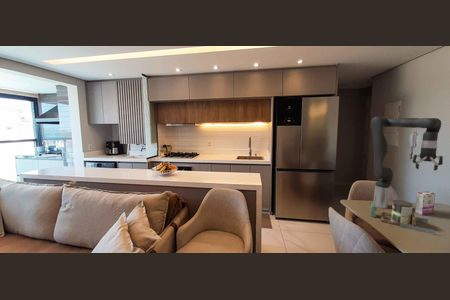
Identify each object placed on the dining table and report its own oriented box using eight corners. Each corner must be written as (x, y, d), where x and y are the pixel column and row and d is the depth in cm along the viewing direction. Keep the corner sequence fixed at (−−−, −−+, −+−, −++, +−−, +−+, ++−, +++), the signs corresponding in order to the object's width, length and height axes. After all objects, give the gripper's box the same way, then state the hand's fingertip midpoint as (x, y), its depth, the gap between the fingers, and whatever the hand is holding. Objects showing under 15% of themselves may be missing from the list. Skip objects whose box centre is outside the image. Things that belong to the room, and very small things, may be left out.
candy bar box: (425, 210, 149) (428, 190, 147) (433, 213, 144) (436, 193, 142) (414, 212, 147) (416, 192, 144) (422, 215, 142) (424, 194, 140)
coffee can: (390, 221, 134) (392, 202, 132) (391, 216, 141) (393, 198, 139) (410, 227, 126) (412, 207, 124) (410, 221, 133) (413, 202, 131)
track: (399, 226, 127) (400, 223, 127) (396, 216, 141) (396, 212, 141) (434, 234, 117) (435, 231, 117) (427, 222, 132) (427, 218, 132)
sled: (370, 219, 137) (371, 208, 136) (370, 211, 149) (371, 201, 148) (415, 228, 124) (416, 217, 123) (410, 219, 136) (411, 208, 135)
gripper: (415, 147, 132) (413, 169, 135) (445, 148, 124) (442, 172, 126) (413, 146, 138) (411, 167, 141) (442, 147, 130) (439, 169, 132)
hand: (426, 169), depth 133 cm, fingers open, 8 cm apart
